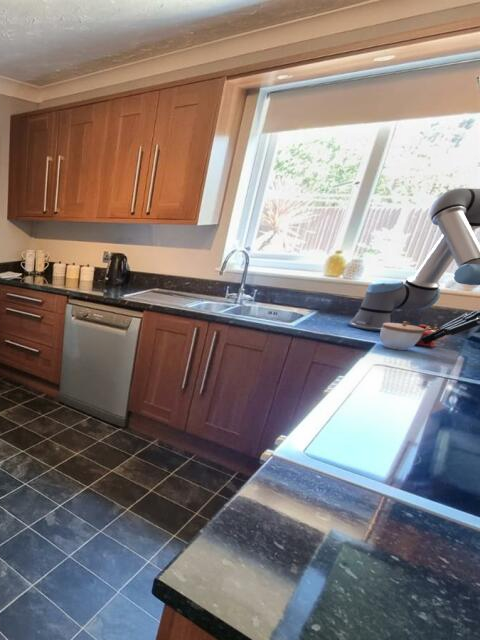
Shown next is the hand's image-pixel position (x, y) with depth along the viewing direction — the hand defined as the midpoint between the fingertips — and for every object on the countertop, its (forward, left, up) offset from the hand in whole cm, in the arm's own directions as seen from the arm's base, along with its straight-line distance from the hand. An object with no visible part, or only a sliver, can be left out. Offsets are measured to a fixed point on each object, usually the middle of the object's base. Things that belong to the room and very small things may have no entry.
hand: (422, 341), depth 173 cm
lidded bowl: (+6, -4, -4) cm, 9 cm away
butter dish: (-10, -12, -4) cm, 16 cm away
